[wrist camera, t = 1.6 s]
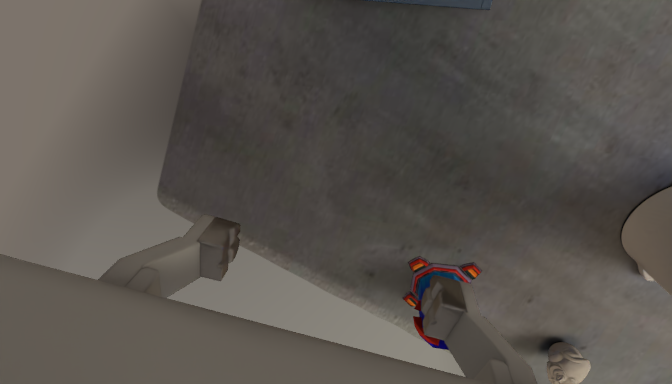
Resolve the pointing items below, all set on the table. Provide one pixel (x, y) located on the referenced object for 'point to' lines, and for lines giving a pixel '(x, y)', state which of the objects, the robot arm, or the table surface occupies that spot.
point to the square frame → (446, 3)
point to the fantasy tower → (423, 281)
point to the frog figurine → (566, 364)
